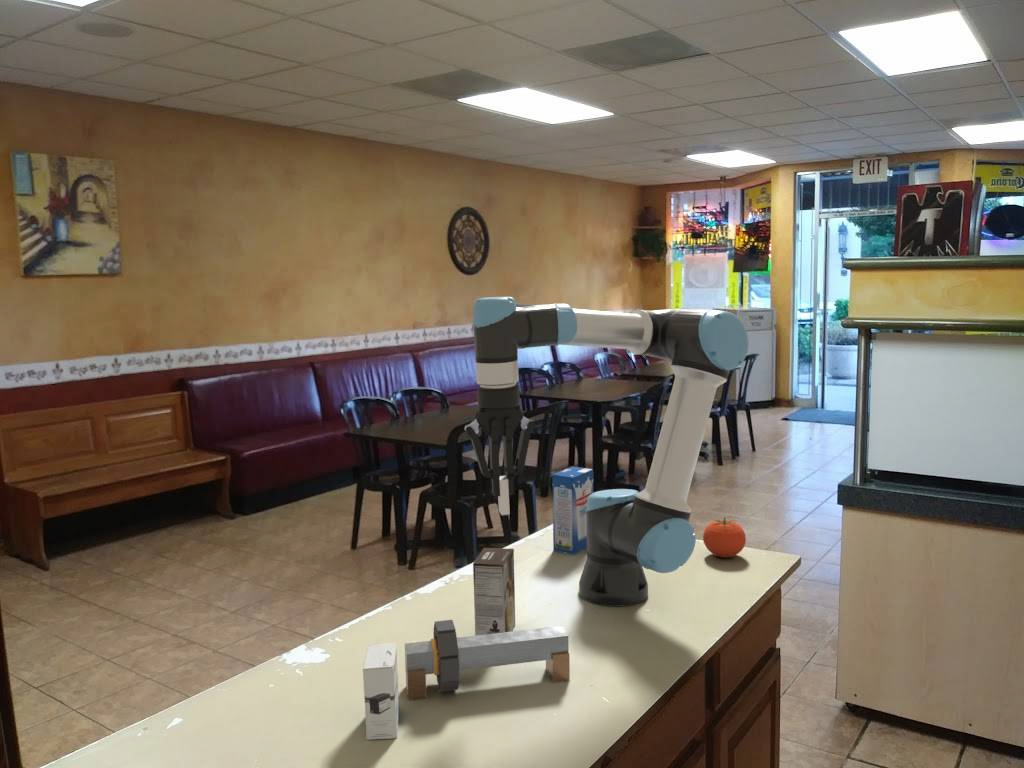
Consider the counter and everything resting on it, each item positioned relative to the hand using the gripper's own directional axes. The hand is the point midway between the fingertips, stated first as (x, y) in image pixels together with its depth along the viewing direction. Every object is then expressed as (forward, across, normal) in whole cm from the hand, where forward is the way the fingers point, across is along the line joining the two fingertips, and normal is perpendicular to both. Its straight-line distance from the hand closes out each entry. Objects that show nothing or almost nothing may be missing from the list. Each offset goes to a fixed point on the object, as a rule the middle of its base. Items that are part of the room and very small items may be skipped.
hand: (504, 512), depth 146 cm
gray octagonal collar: (+27, +13, +10) cm, 32 cm away
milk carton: (+29, -28, -53) cm, 67 cm away
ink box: (+27, +25, +18) cm, 41 cm away
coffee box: (+28, +1, -9) cm, 29 cm away
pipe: (+27, +6, +10) cm, 29 cm away
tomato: (+30, -62, -38) cm, 78 cm away
